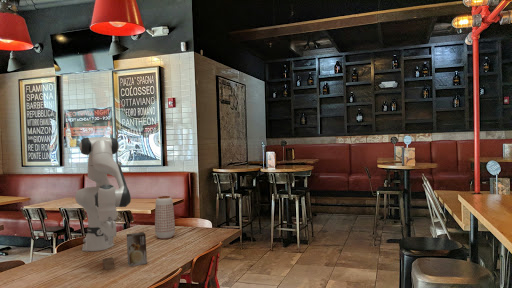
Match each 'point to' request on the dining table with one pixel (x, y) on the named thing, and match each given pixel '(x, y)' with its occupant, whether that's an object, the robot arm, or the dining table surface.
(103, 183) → the robot arm
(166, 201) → the grey textured vase
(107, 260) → the walnut block
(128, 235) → the coffee box
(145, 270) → the dining table surface
